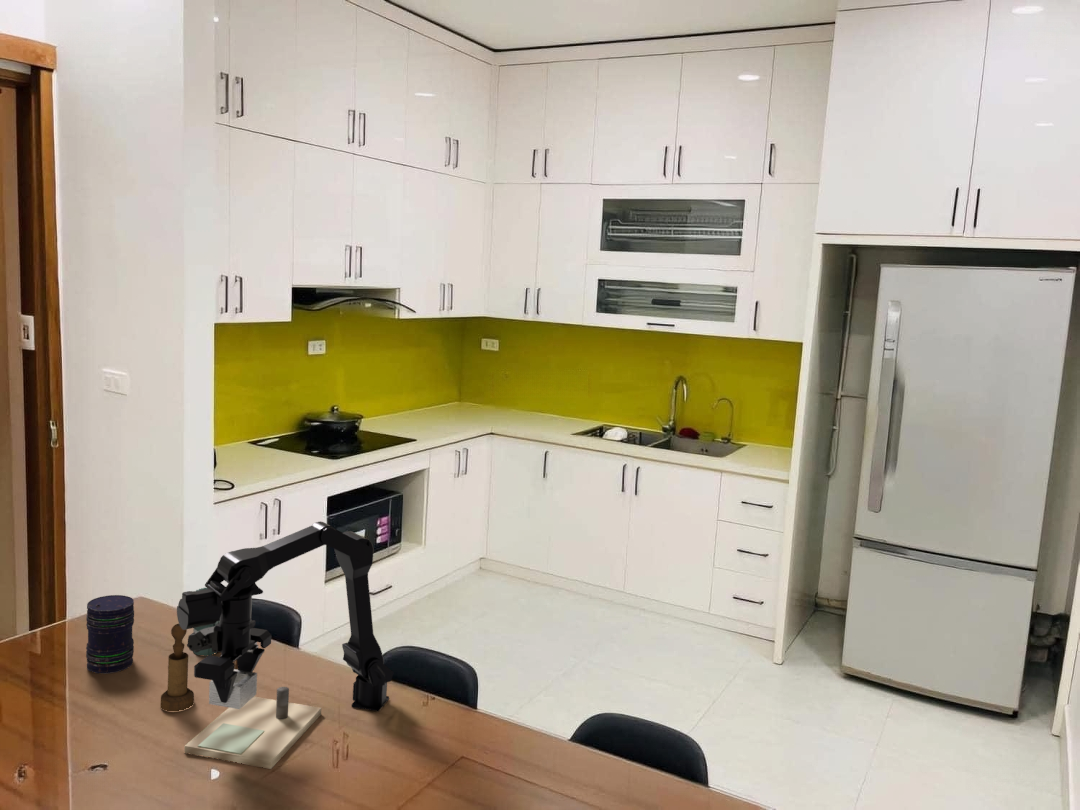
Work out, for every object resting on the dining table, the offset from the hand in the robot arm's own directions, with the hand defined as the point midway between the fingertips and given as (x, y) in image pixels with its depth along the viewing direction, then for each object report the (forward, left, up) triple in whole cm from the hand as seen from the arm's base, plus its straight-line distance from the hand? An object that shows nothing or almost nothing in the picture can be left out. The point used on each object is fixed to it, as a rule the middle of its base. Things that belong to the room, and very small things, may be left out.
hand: (233, 694), depth 168 cm
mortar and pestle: (+19, -11, -11) cm, 25 cm away
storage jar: (+44, -23, -11) cm, 51 cm away
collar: (0, 0, -1) cm, 1 cm away
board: (-2, -6, -11) cm, 12 cm away
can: (+28, -37, -11) cm, 48 cm away
